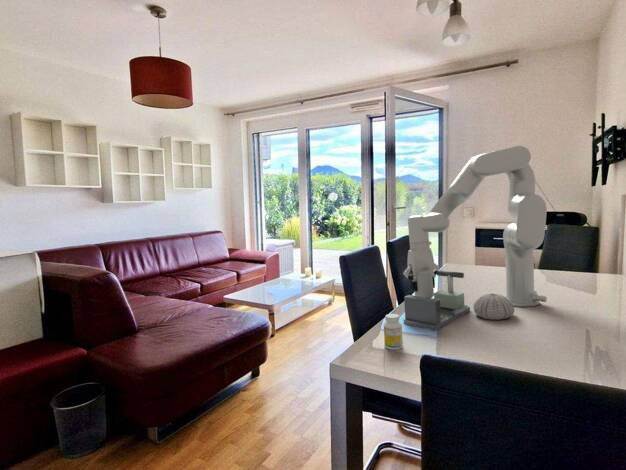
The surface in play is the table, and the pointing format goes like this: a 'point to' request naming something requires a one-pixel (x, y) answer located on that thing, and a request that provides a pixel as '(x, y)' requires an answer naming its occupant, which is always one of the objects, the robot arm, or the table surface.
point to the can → (424, 284)
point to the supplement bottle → (393, 332)
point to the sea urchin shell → (493, 307)
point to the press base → (443, 321)
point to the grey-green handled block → (450, 292)
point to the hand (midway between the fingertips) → (423, 288)
